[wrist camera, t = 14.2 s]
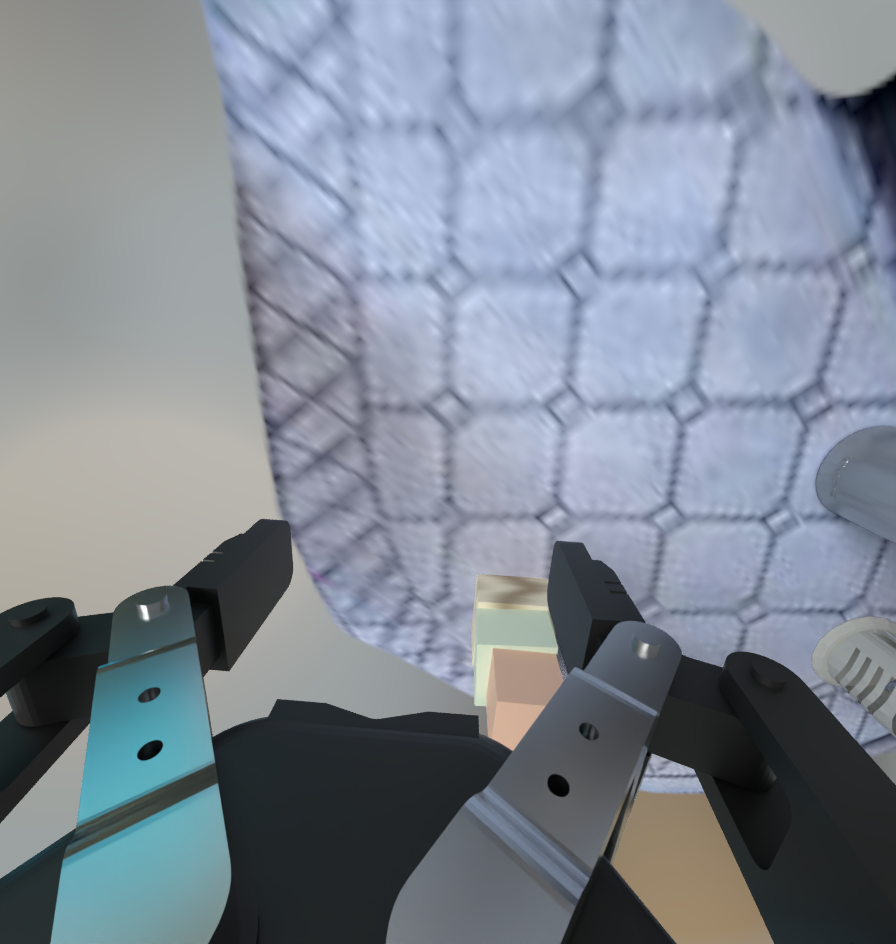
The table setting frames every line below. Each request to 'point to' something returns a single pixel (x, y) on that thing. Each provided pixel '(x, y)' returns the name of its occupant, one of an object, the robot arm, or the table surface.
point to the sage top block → (508, 639)
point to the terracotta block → (518, 692)
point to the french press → (862, 664)
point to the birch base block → (509, 595)
